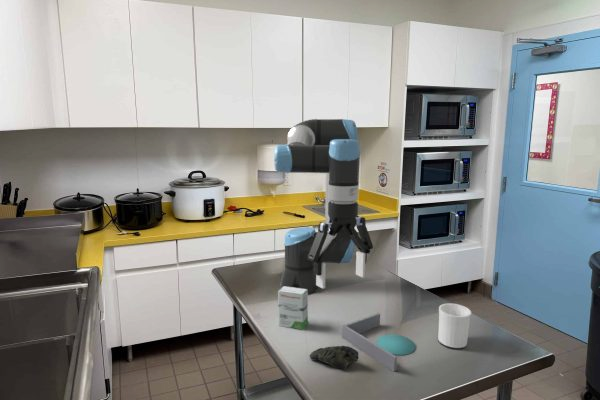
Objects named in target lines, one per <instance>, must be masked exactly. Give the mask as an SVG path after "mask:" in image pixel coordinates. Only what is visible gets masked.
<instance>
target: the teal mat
mask: <svg viewBox="0 0 600 400" xmlns="http://www.w3.org/2000/svg"><path fill="white" fill-rule="evenodd" d="M376 344H377V345H378V346H380V347H382V348H383V349H385V350H387V351H388V352H390V353H391V354H393V355H395V356H406V355H410V354H412V353H413V352H414V351H415V350H416V345H415V344H416V343H414V341H413V340H412V339H410V338H409V337H406V336H403V335H400V334H392V333H391V334H384V335H381V336H379V337H378V338H377V339H376Z"/></svg>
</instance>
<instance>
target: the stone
mask: <svg viewBox="0 0 600 400" xmlns="http://www.w3.org/2000/svg"><path fill="white" fill-rule="evenodd" d="M309 359H310V360H313V361H317V360H318V361H320V362H321V363H325V364H329V365H330V366H332V367H334V368H336V369H340V370H343V369H347V367H348V365H350V364H351V363H354V362H358V360H359V352H358V350H356V349H354V348H353V347H350V346H349V345H347V346H345V345H340V346H339V345H338V346H335V345H333V346H325V347H319V348H317V349H315V350H313V351H312V352H310V354H309Z"/></svg>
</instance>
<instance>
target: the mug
mask: <svg viewBox="0 0 600 400" xmlns="http://www.w3.org/2000/svg"><path fill="white" fill-rule="evenodd" d="M438 317H439V318H438V333H437V334H438V335H437V341H438V343H439V344H440V345H441V346H443V347H445V348H447V349H451V350H463V349H465V348H466V347H467V346H468V338H469V331H470V322H471V317H472V310H471V309H470V308H468V307H466V306H464V305H462V304H458V303H452V302H451V303H450V302H449V303H442V304H441V305H439V306H438Z"/></svg>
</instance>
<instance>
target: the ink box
mask: <svg viewBox="0 0 600 400" xmlns="http://www.w3.org/2000/svg"><path fill="white" fill-rule="evenodd" d="M308 297H309V294H308V290H307V289H301V288H294V287H286V286H284V287H282V288H280V289H278V290H277V301H278V302H277V310H278V314H277V316H278V320H277V321H278V326H279V327H284V328H292V329H297V330H305V328H306V327H307V325H308V323H309V322H308V319H309V318H308V317H309V316H308V315H309V313H308V312H309V311H308V310H309V308H308V307H309V302H308V300H309V298H308Z"/></svg>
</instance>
